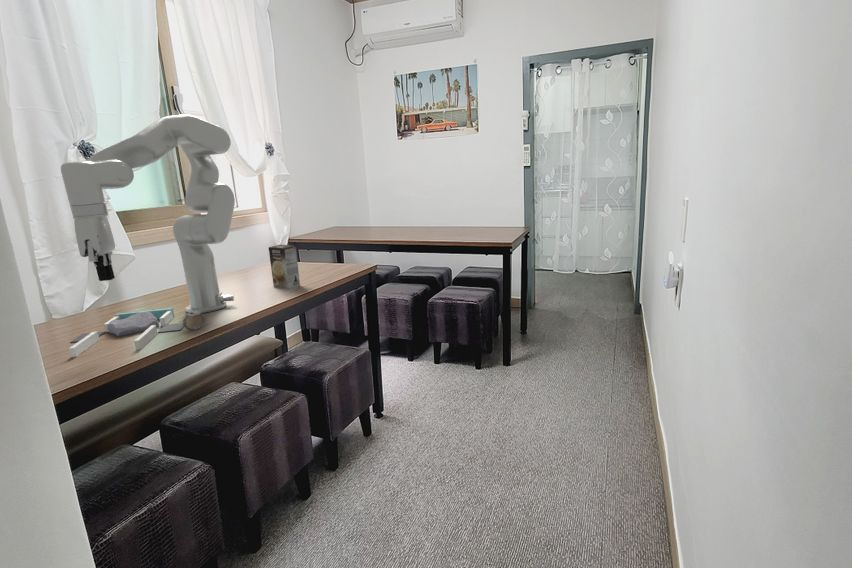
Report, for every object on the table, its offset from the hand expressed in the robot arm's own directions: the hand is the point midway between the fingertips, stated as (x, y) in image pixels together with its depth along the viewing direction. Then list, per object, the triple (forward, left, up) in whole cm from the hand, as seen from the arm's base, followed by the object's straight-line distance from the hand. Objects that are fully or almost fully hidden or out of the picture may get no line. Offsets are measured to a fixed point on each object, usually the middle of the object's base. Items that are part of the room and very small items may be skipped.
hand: (107, 279), depth 125 cm
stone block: (0, -11, -18) cm, 21 cm away
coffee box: (-41, -49, -18) cm, 66 cm away
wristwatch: (-18, -5, -18) cm, 26 cm away
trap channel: (0, -6, -18) cm, 19 cm away
